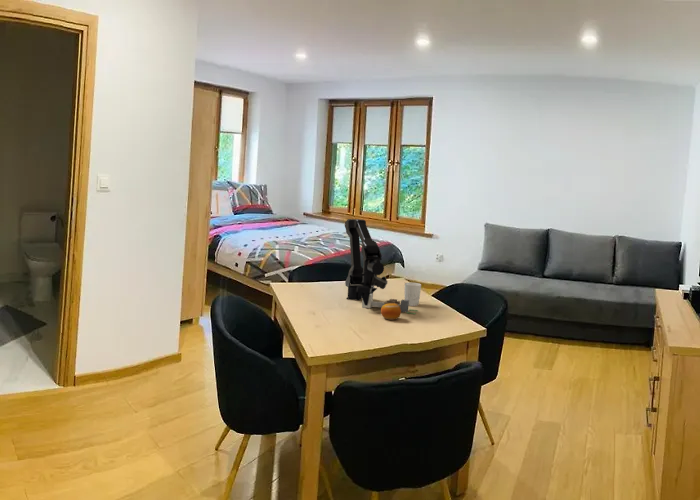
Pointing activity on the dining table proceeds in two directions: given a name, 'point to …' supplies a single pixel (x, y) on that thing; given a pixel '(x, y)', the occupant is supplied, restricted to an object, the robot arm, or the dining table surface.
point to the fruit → (391, 311)
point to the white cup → (412, 293)
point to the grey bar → (374, 303)
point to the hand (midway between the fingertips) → (367, 304)
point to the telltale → (404, 305)
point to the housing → (397, 304)
